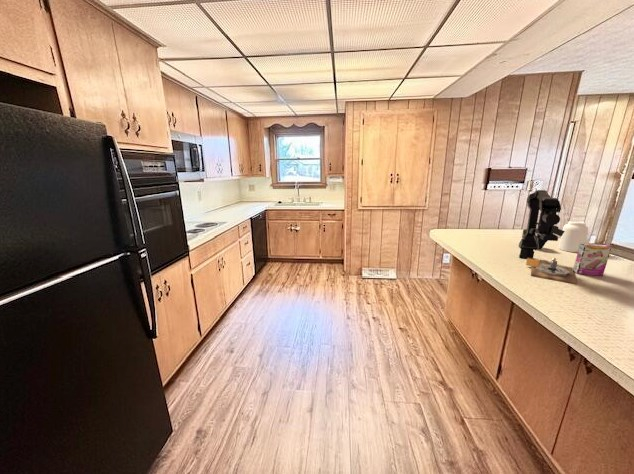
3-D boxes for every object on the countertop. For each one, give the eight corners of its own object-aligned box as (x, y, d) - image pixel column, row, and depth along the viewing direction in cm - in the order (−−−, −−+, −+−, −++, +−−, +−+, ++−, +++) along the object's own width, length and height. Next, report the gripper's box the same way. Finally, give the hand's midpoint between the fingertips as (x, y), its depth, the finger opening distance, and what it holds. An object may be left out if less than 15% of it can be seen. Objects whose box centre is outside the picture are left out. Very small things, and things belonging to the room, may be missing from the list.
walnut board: (530, 275, 144) (531, 274, 144) (531, 262, 162) (531, 261, 162) (576, 284, 133) (577, 282, 133) (571, 269, 151) (571, 267, 151)
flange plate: (572, 272, 144) (573, 264, 143) (562, 277, 138) (564, 270, 137) (531, 262, 160) (532, 255, 158) (521, 266, 153) (522, 259, 152)
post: (549, 273, 147) (551, 261, 145) (548, 271, 148) (551, 260, 147) (554, 274, 145) (557, 262, 143) (554, 272, 147) (557, 261, 145)
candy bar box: (577, 274, 145) (584, 245, 140) (572, 270, 149) (579, 242, 145) (603, 276, 141) (612, 247, 137) (597, 273, 146) (605, 244, 141)
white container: (585, 253, 176) (592, 224, 171) (560, 251, 182) (566, 222, 177) (579, 248, 186) (587, 220, 181) (556, 246, 193) (562, 219, 187)
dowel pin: (550, 267, 155) (552, 258, 153) (550, 266, 156) (552, 257, 154) (554, 267, 154) (556, 259, 152) (553, 267, 155) (556, 258, 154)
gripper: (573, 225, 133) (567, 255, 137) (555, 219, 150) (549, 246, 154) (546, 224, 136) (540, 253, 140) (531, 218, 153) (526, 244, 157)
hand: (539, 249), depth 148 cm, fingers closed
